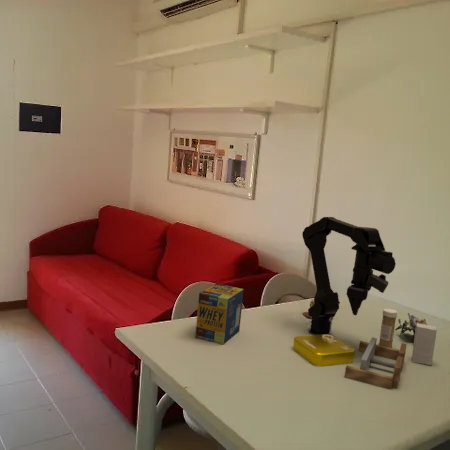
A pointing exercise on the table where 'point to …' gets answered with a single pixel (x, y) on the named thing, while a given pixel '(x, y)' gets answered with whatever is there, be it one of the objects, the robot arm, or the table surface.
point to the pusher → (369, 355)
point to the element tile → (323, 350)
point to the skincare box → (424, 344)
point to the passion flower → (410, 324)
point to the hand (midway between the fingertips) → (356, 311)
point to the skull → (311, 306)
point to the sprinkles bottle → (387, 327)
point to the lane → (376, 377)
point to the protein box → (219, 313)
